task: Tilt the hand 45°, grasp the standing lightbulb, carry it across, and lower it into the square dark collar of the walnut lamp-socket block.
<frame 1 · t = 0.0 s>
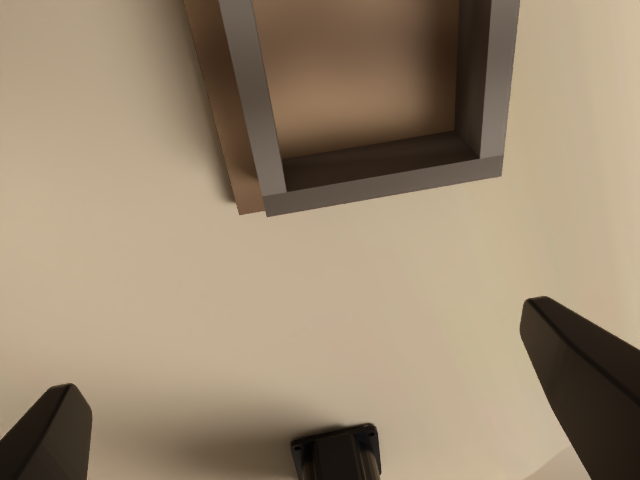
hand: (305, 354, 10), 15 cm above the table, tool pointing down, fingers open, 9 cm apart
socket block: (357, 48, 21), on the table
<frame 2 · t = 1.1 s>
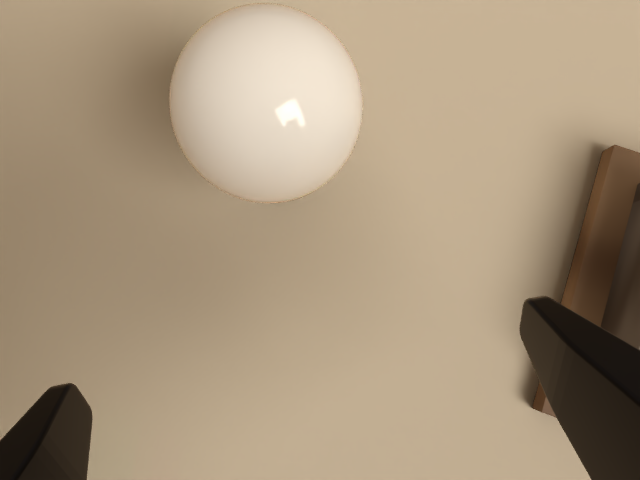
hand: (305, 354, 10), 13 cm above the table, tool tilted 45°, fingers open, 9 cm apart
lightbulb: (284, 176, 24), on the table
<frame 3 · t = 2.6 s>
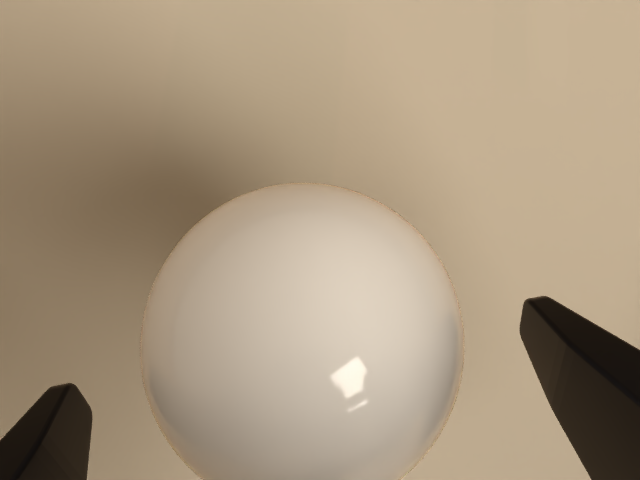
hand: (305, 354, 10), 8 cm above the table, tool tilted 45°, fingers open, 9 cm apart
lightbulb: (310, 332, 18), on the table
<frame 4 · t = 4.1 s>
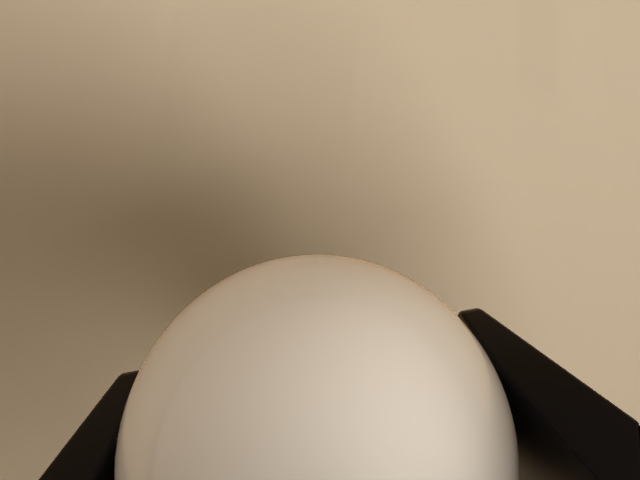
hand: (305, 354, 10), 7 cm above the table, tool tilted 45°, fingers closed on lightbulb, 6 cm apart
lightbulb: (317, 382, 16), on the table, touching gripper
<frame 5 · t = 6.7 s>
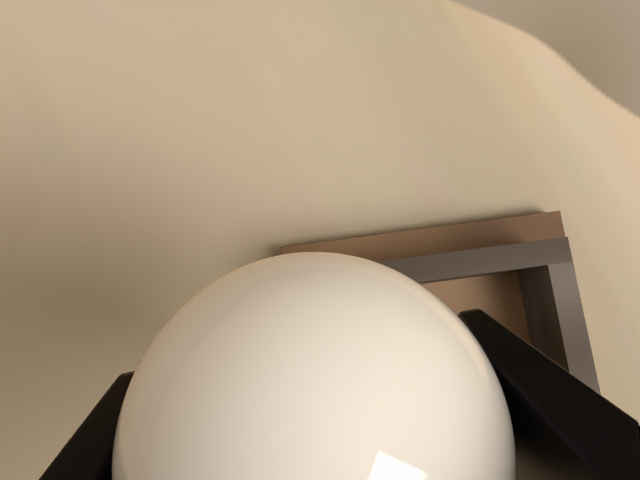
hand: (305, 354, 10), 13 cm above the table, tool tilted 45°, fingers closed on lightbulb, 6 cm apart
socket block: (439, 370, 23), on the table
lightbulb: (316, 381, 16), point 6 cm above the table, touching gripper
when the fingers open (9 cm above the table, at t = 9.2 s): lightbulb drops 1 cm, resting on socket block.
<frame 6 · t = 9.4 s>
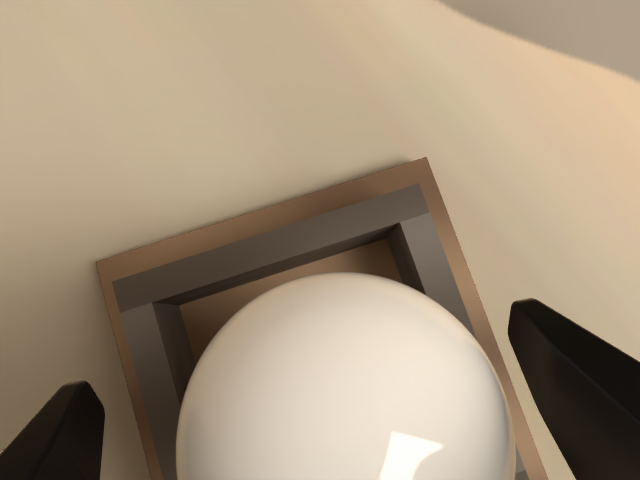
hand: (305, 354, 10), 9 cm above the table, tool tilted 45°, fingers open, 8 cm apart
socket block: (318, 374, 18), on the table
lightbulb: (325, 381, 18), point 1 cm above the table, touching socket block
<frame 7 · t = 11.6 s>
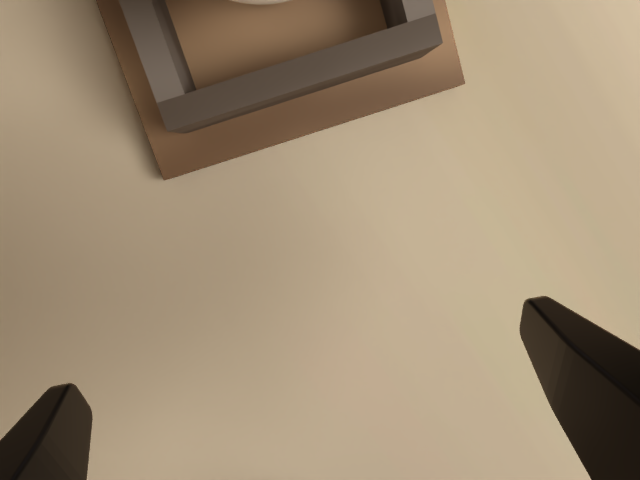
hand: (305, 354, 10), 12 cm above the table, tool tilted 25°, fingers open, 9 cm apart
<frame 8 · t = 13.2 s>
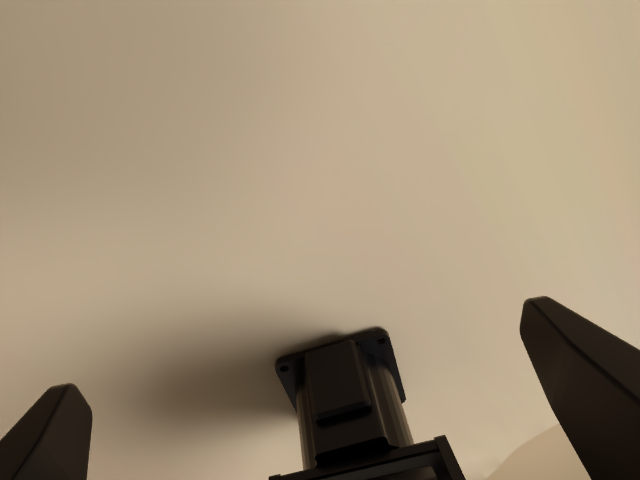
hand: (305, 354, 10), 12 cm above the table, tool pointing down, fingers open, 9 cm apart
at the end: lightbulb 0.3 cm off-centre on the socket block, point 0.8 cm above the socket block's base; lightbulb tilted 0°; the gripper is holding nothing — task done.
